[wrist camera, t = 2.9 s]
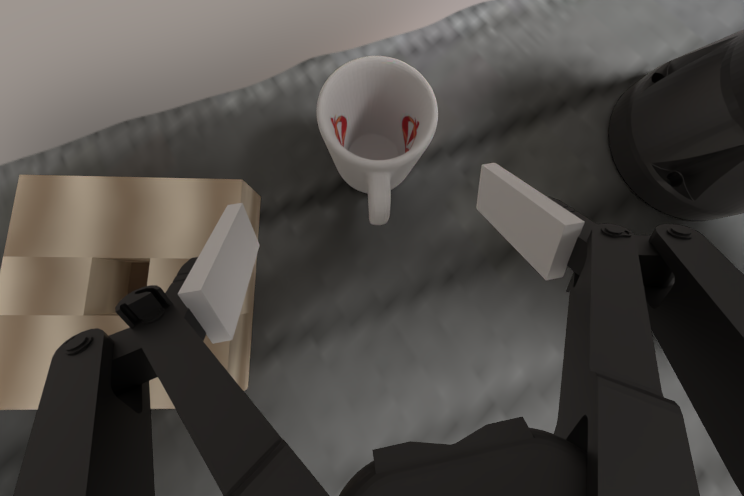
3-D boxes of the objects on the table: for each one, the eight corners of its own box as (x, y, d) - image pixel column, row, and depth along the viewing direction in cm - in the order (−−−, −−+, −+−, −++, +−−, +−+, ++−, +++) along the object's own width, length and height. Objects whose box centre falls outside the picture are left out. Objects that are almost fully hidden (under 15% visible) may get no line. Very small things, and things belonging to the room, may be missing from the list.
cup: (420, 234, 25) (447, 209, 18) (330, 237, 25) (316, 212, 17) (413, 122, 27) (434, 53, 19) (328, 123, 27) (315, 53, 19)
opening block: (260, 196, 25) (242, 179, 21) (248, 388, 23) (224, 408, 19) (74, 193, 25) (19, 174, 21) (41, 388, 22) (-28, 410, 18)
